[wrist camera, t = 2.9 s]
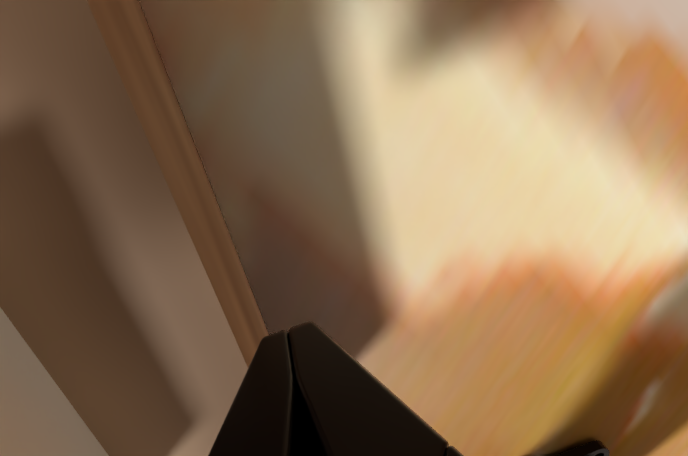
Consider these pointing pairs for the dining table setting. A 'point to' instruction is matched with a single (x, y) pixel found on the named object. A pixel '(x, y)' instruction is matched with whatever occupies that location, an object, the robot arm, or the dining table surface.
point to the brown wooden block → (115, 232)
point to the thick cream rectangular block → (36, 406)
